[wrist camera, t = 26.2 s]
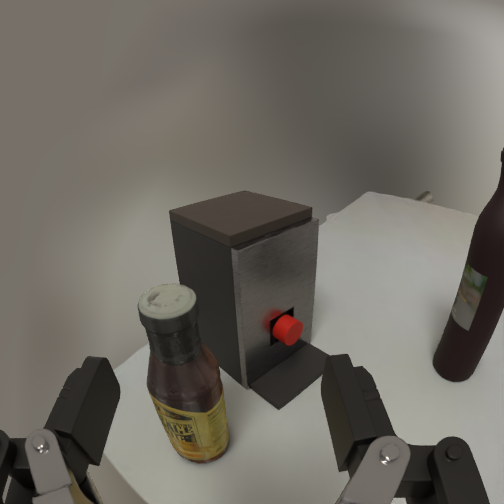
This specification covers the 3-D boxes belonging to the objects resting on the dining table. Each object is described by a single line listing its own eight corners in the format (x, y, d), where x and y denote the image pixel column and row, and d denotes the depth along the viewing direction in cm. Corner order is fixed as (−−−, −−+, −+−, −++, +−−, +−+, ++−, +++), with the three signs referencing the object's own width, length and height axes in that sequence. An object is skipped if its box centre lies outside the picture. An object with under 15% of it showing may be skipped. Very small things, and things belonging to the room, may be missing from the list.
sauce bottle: (163, 440, 28) (102, 294, 20) (205, 412, 32) (173, 263, 24) (201, 479, 24) (145, 341, 16) (244, 445, 28) (229, 295, 20)
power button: (302, 337, 37) (304, 317, 35) (284, 350, 35) (285, 329, 33) (290, 330, 38) (291, 310, 37) (272, 342, 36) (272, 321, 35)
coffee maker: (337, 360, 39) (357, 219, 31) (275, 412, 32) (278, 256, 24) (250, 309, 52) (244, 190, 43) (190, 340, 45) (168, 210, 36)
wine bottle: (441, 343, 39) (488, 143, 27) (477, 360, 34) (538, 157, 22) (425, 370, 35) (481, 142, 23) (465, 390, 30) (541, 159, 18)
